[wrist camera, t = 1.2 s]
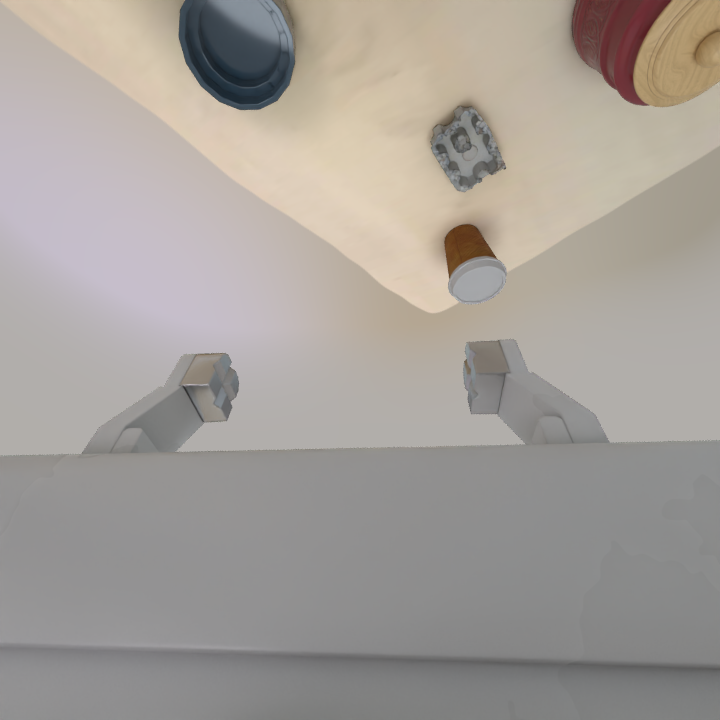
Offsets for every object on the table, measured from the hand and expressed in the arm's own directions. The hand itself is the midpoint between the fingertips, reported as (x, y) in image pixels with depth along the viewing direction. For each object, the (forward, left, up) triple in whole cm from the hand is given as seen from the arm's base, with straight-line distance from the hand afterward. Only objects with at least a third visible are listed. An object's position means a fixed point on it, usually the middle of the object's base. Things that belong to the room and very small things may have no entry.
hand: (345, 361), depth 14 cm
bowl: (+7, -6, -49) cm, 50 cm away
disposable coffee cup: (+23, +36, -49) cm, 65 cm away
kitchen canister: (-12, +34, -49) cm, 61 cm away
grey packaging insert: (+8, +26, -49) cm, 56 cm away
